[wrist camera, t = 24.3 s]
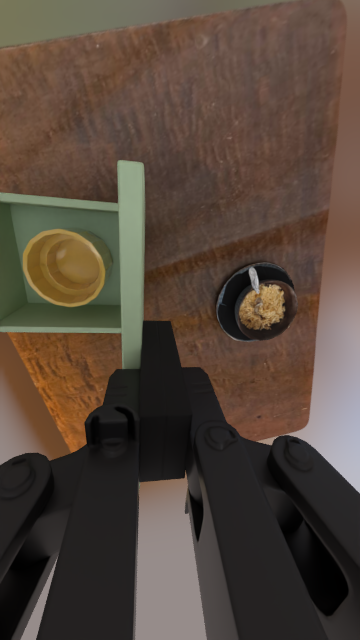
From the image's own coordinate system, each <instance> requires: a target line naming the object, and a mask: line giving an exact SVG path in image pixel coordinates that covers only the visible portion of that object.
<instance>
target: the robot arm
mask: <svg viewBox="0 0 360 640" xmlns="http://www.w3.org/2000/svg"><path fill="white" fill-rule="evenodd" d="M85 431H86V440H87V444H86V445H85V446H83V447H82V448H80V449H79V450H77V451H75V452H73V453H71V454H68V455H66V456H63V457H60V458H57V459H54V460H51V461H49V460H48V458H47V457H46V456H44V455H42V454H39V453H25V454H22V455H19V456H16V457H14V458H12V459H10V460H8V461H7V462H5V463H3V464H2V465H0V640H20V639H21V637H22V635H23V632H24V630H25V628H26V626H27V624H28V621H29V619H30V617H31V614H32V612H33V610H34V608H35V605H36V603H37V601H38V599H39V597H40V594H41V592H42V590H43V588H44V586H45V584H46V581H47V579H48V577H49V575H50V572H51V570H52V568H53V566H54V564H55V561H56V559H57V557H58V559H57V563H56V567H55V571H54V575H53V578H52V582H51V586H50V589H49V594H48V597H47V601H46V604H45V608H44V612H43V616H42V620H41V623H40V627H39V631H38V635H37V638H36V640H135V621H136V620H135V619H136V585H137V549H138V513H139V512H138V511H139V510H138V509H139V482H147V481H158V480H170V479H181V478H185V471H186V474H187V480H188V488H187V496H186V503H185V514H187V513H189V516H190V523H191V530H192V537H193V544H194V551H195V558H196V565H197V572H198V578H199V586H200V592H201V600H202V608H203V614H204V622H205V629H206V636H207V640H360V493H359V492H358V491H356V490H355V488H354V487H353V486H351V484H349V482H347V480H345V478H344V477H342V475H341V474H340V473H339V472H338V471H337V470H336V469H335V468H334V467H333V466H332V465H331V464H329V462H328V461H327V460H326V459H325V458H324V457H323V456H322V455H321V454H320V453H318V451H317V450H316V449H314V448H313V447H312V446H311V445H309V444H308V443H307V442H305V441H303V440H301V439H299V438H297V437H293V436H289V435H285V436H279V437H277V438H276V439H275V440H274V441H273V444H272V446H271V445H267V444H263V443H259V442H254V441H251V440H248V439H245V438H243V437H241V436H240V435H239V433H238V432H237V430H236V429H235V428H233V427H232V426H231V425H230V424H228V423H227V422H226V420H225V417H224V415H223V412H222V410H221V407H220V405H219V402H218V400H217V397H216V395H215V392H214V390H213V387H212V385H211V382H210V379H209V377H208V374H207V373H205V372H204V371H203V370H202V369H201V368H200V367H183V368H182V367H181V363H180V359H179V355H178V350H177V346H176V342H175V338H174V334H173V329H172V325H171V321H143V327H142V350H141V369H116V371H115V372H114V373H113V374H112V375H111V376H110V377H109V381H108V385H107V390H106V394H105V398H104V402H103V405H102V406H100V407H98V408H96V409H95V410H94V411H93V412H91V413H90V414H89V416H88V417H87V419H86V421H85Z"/></svg>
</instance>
